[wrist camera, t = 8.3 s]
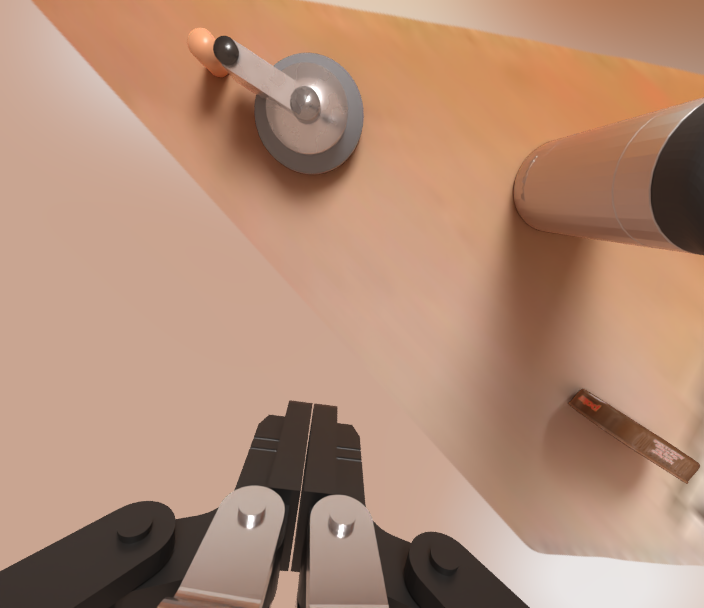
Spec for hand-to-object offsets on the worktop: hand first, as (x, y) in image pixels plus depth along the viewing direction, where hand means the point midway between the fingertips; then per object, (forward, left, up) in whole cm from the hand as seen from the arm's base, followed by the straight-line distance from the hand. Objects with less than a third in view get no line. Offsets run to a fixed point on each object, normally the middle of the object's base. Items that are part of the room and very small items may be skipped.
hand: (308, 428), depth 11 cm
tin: (-37, +13, -29) cm, 49 cm away
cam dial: (+6, -15, -27) cm, 31 cm away
